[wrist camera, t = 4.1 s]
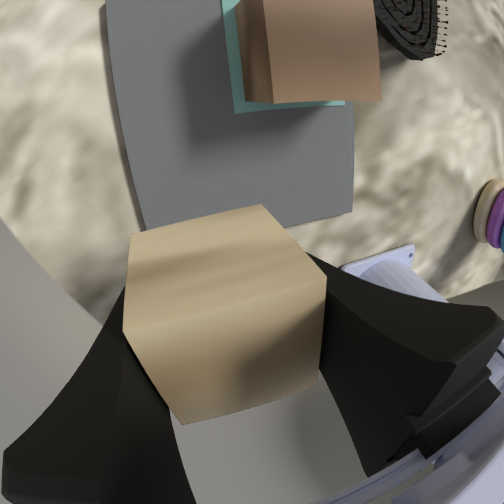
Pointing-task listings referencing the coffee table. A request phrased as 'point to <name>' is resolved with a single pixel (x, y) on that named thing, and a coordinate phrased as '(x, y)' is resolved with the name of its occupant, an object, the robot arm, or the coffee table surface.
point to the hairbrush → (409, 26)
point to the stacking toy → (490, 215)
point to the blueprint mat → (218, 122)
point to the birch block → (224, 312)
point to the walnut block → (308, 50)
